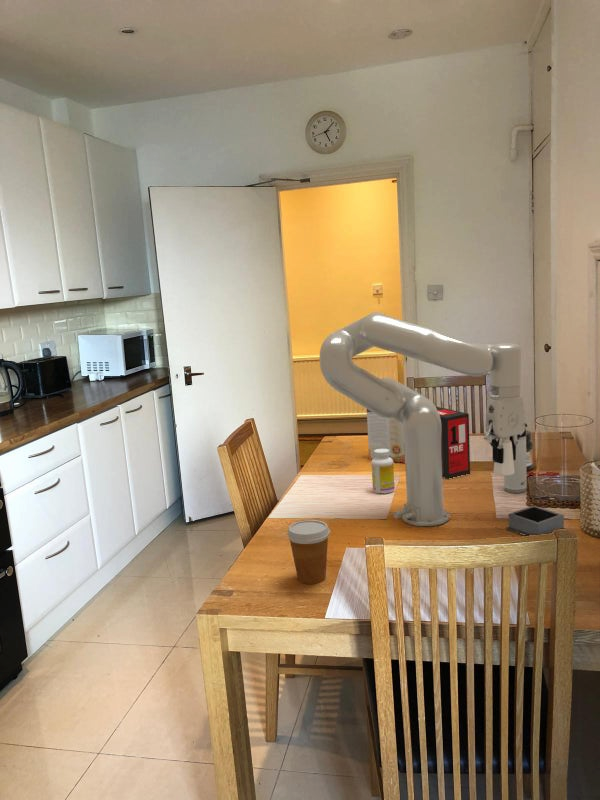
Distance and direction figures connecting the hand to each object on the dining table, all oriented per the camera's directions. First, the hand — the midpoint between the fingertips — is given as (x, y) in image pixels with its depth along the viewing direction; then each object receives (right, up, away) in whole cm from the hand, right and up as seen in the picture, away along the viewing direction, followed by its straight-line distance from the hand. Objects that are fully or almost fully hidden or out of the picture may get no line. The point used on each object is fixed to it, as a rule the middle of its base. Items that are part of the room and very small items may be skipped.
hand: (504, 460), depth 174 cm
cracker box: (-21, -6, +64) cm, 68 cm away
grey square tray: (+6, -17, -8) cm, 19 cm away
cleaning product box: (-6, -8, +46) cm, 47 cm away
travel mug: (+10, -11, +23) cm, 27 cm away
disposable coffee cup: (-51, -24, -25) cm, 62 cm away
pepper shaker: (0, -4, +1) cm, 4 cm away
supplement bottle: (-28, -12, +31) cm, 43 cm away
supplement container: (+17, -7, +44) cm, 48 cm away
